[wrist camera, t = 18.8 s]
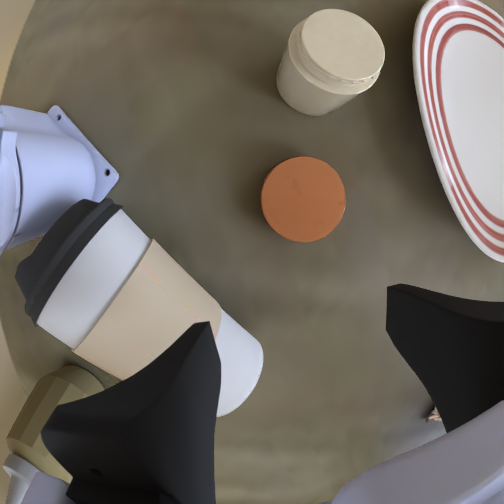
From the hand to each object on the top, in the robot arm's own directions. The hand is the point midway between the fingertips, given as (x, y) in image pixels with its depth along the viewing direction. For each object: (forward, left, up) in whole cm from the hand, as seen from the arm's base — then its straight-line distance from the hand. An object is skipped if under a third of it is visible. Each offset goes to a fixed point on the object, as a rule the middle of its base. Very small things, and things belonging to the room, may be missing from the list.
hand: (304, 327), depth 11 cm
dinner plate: (+6, +26, -11) cm, 29 cm away
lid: (-2, +4, -9) cm, 10 cm away
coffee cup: (+3, -8, -7) cm, 11 cm away
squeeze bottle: (-3, -24, -11) cm, 26 cm away
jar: (-8, +11, -10) cm, 17 cm away
